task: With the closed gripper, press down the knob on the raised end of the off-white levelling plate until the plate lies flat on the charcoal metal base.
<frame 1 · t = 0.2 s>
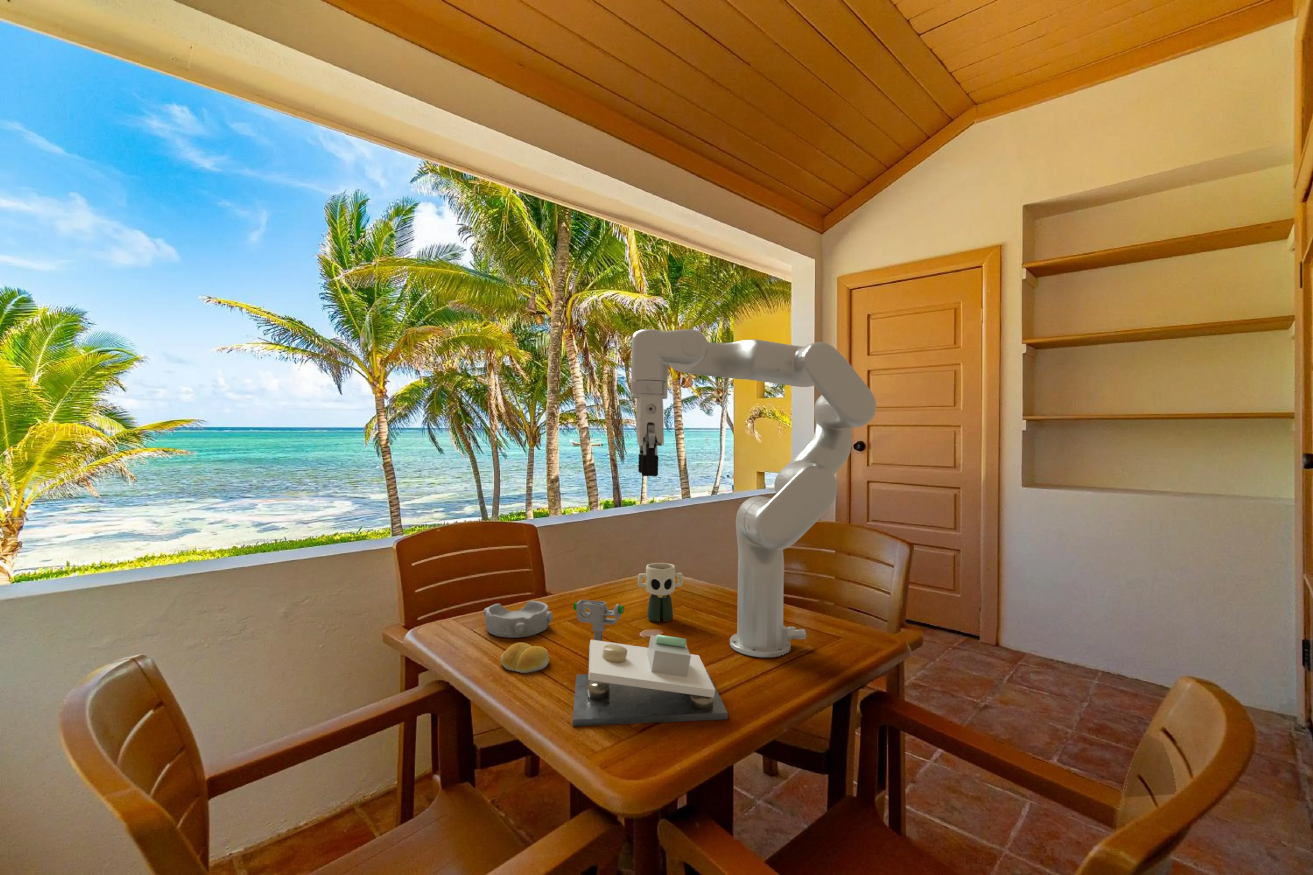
hand: (647, 474, 114), 36 cm above the table, tool pointing down, fingers open, 9 cm apart
levelling plate: (651, 652, 93), point 8 cm above the table, hinge at 10.0°
tribrach base: (646, 698, 93), on the table
bread roll: (524, 666, 107), on the table
mechanical component: (598, 652, 113), on the table
character mug: (660, 620, 134), on the table
dish: (518, 630, 126), on the table
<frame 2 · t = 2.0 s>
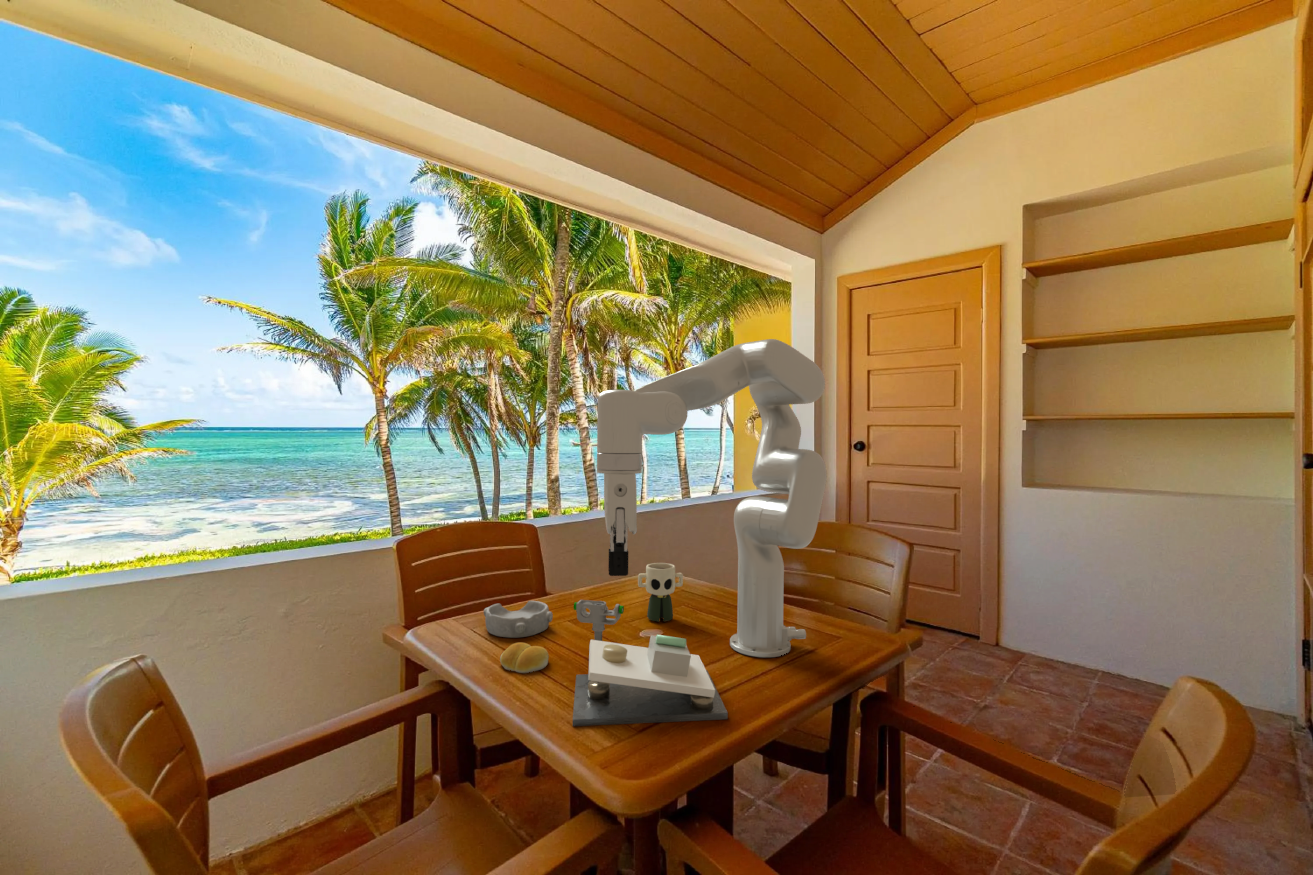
hand: (618, 573, 93), 21 cm above the table, tool pointing down, fingers closed
nothing on the table moved.
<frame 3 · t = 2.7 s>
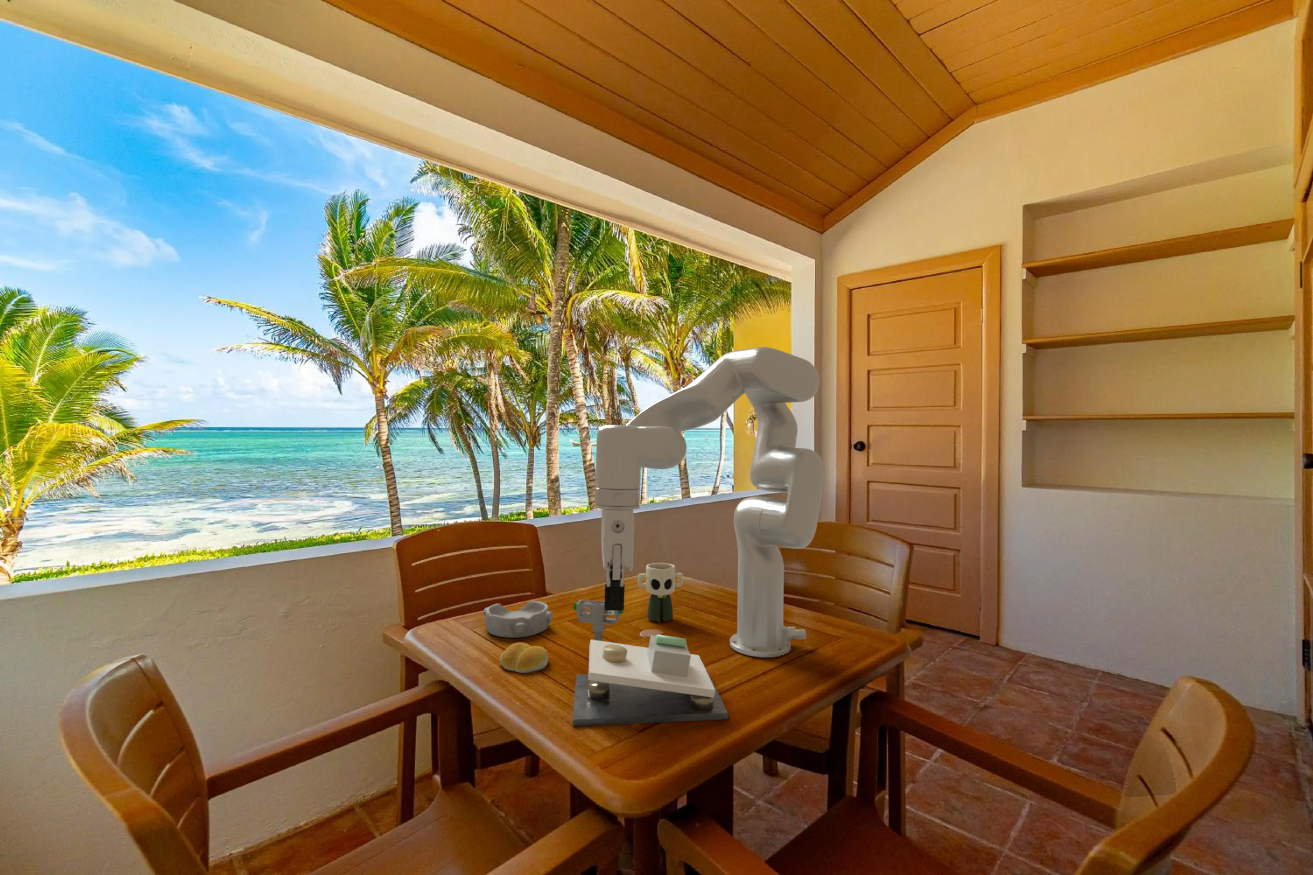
hand: (614, 608, 92), 15 cm above the table, tool pointing down, fingers closed
nothing on the table moved.
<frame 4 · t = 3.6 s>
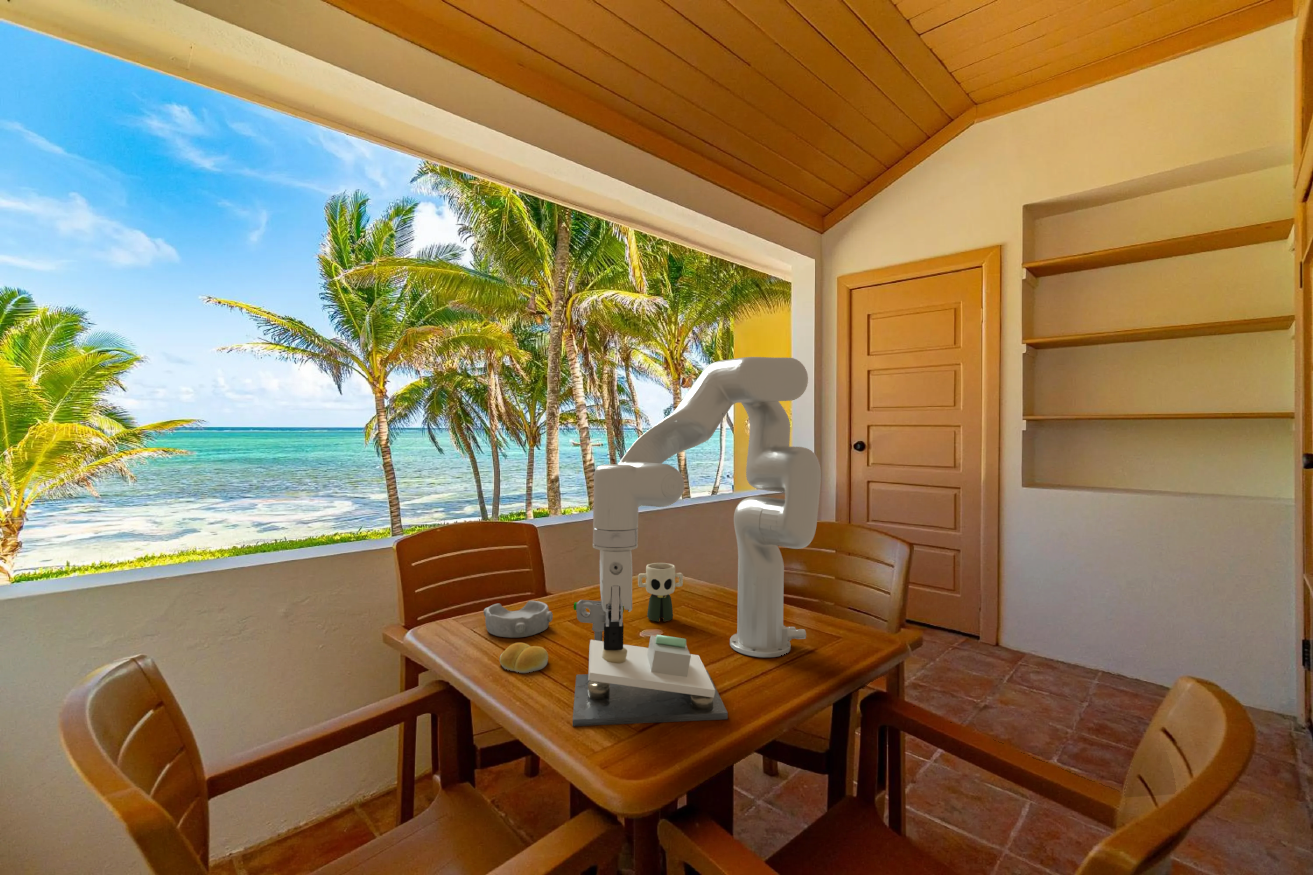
hand: (613, 647, 92), 9 cm above the table, tool pointing down, fingers closed
levelling plate: (651, 652, 93), point 8 cm above the table, hinge at 9.9°, touching gripper
everything else where it was.
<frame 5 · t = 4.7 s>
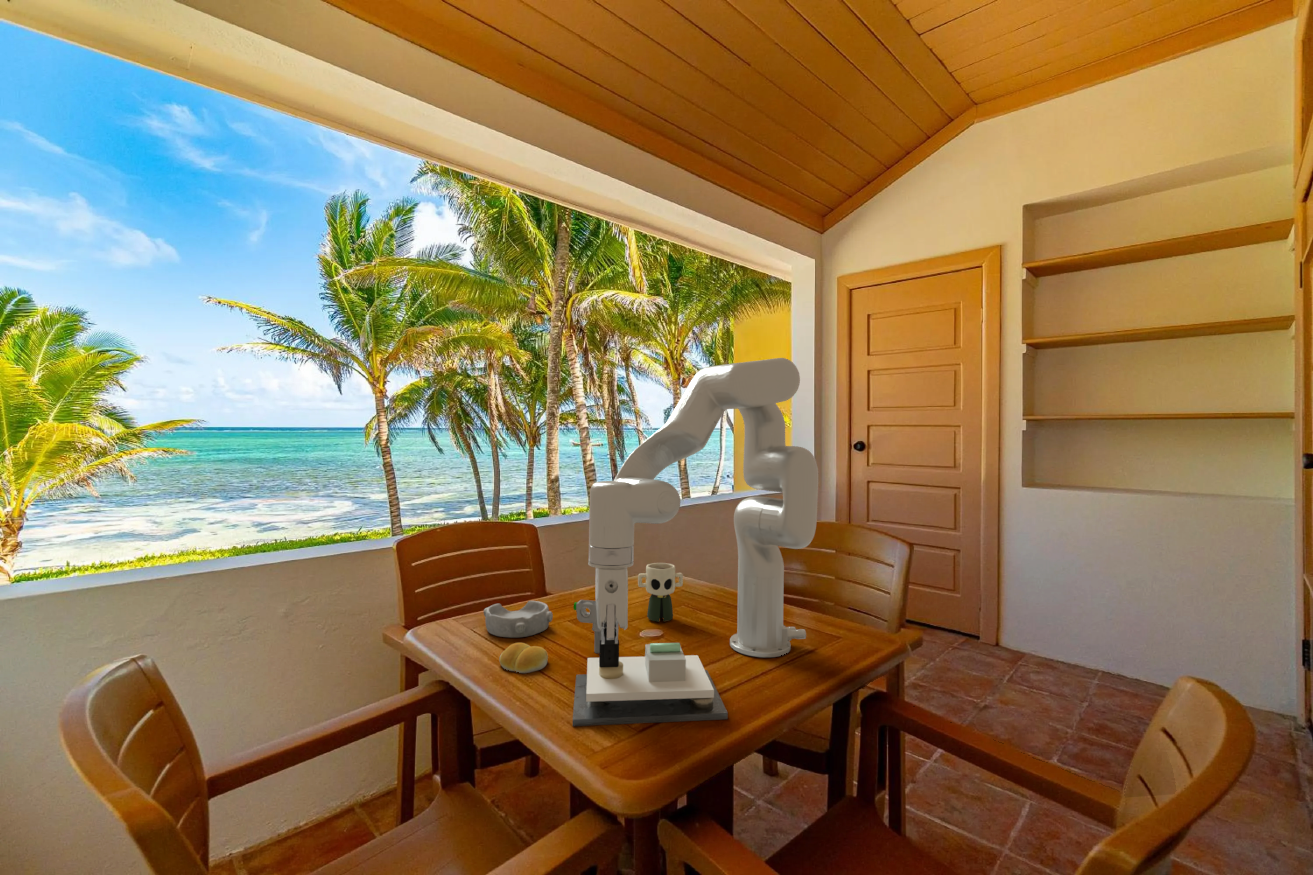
hand: (608, 665, 92), 6 cm above the table, tool pointing down, fingers closed
levelling plate: (647, 661, 93), point 6 cm above the table, hinge at 0.5°, touching gripper
everything else where it was.
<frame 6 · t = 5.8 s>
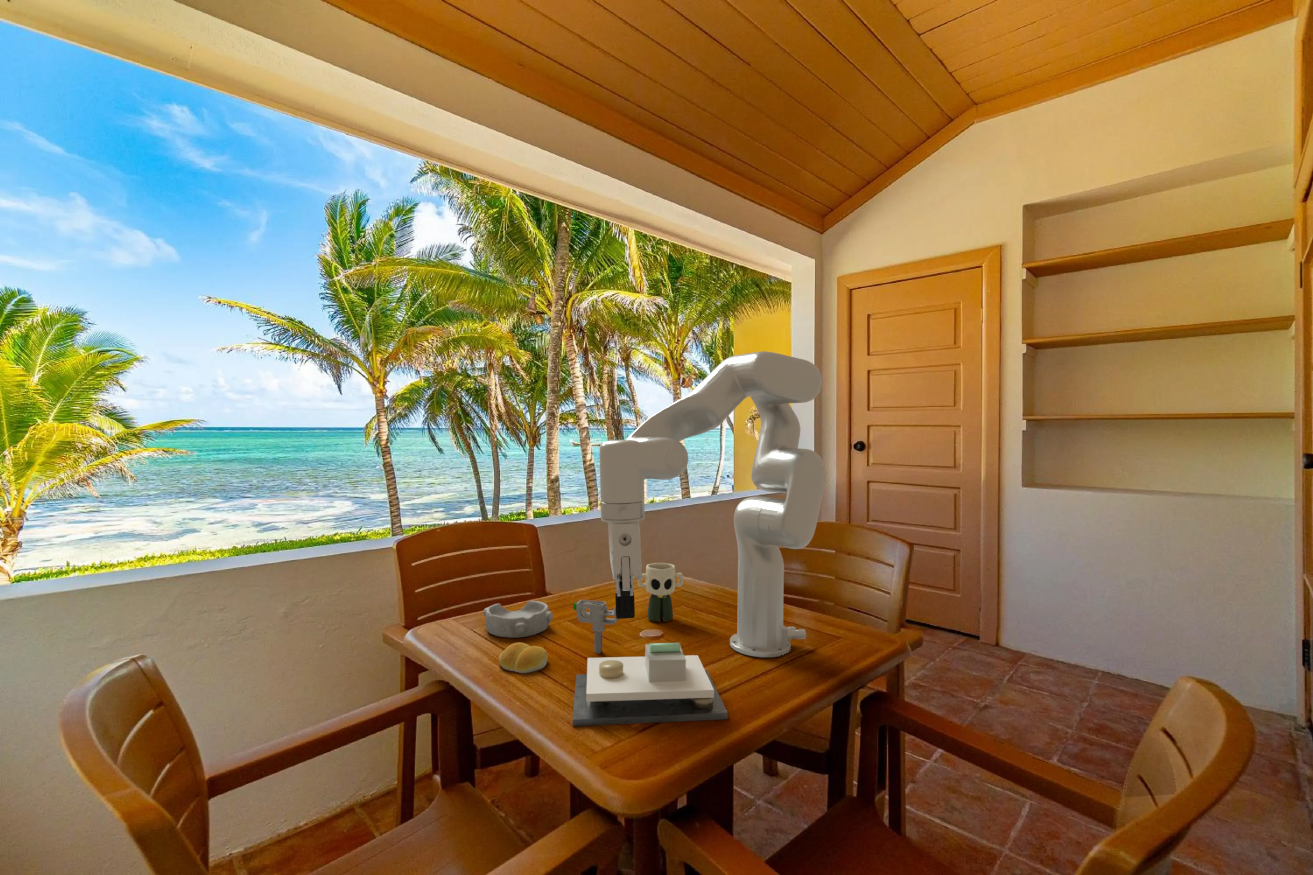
hand: (625, 616, 96), 13 cm above the table, tool pointing down, fingers closed
levelling plate: (647, 661, 93), point 6 cm above the table, hinge at 0.5°
everything else where it was.
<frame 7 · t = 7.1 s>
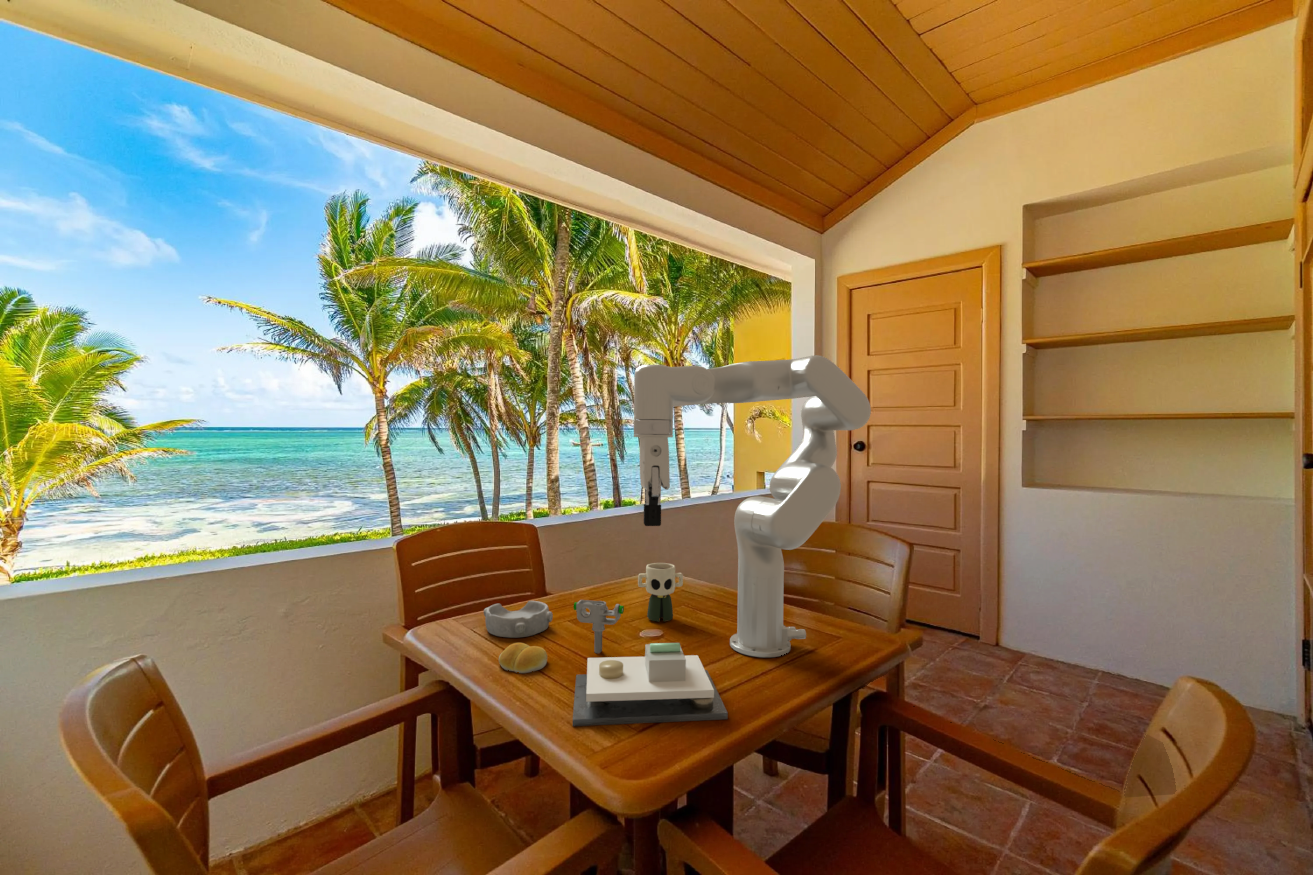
hand: (652, 525, 106), 27 cm above the table, tool pointing down, fingers closed
nothing on the table moved.
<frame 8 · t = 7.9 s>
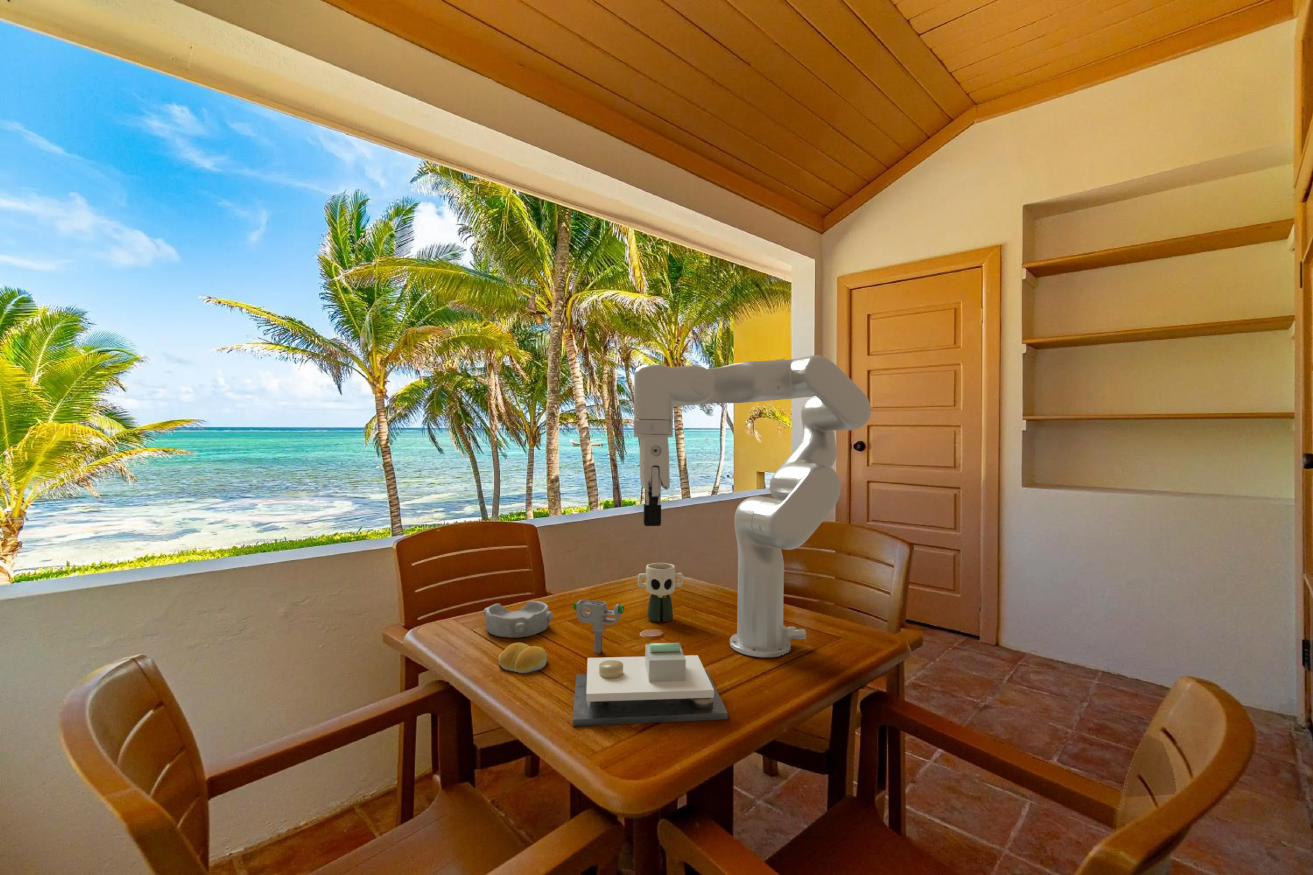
hand: (652, 525, 106), 27 cm above the table, tool pointing down, fingers closed
nothing on the table moved.
at the end: levelling plate at +0° (first picture: +10°) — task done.
